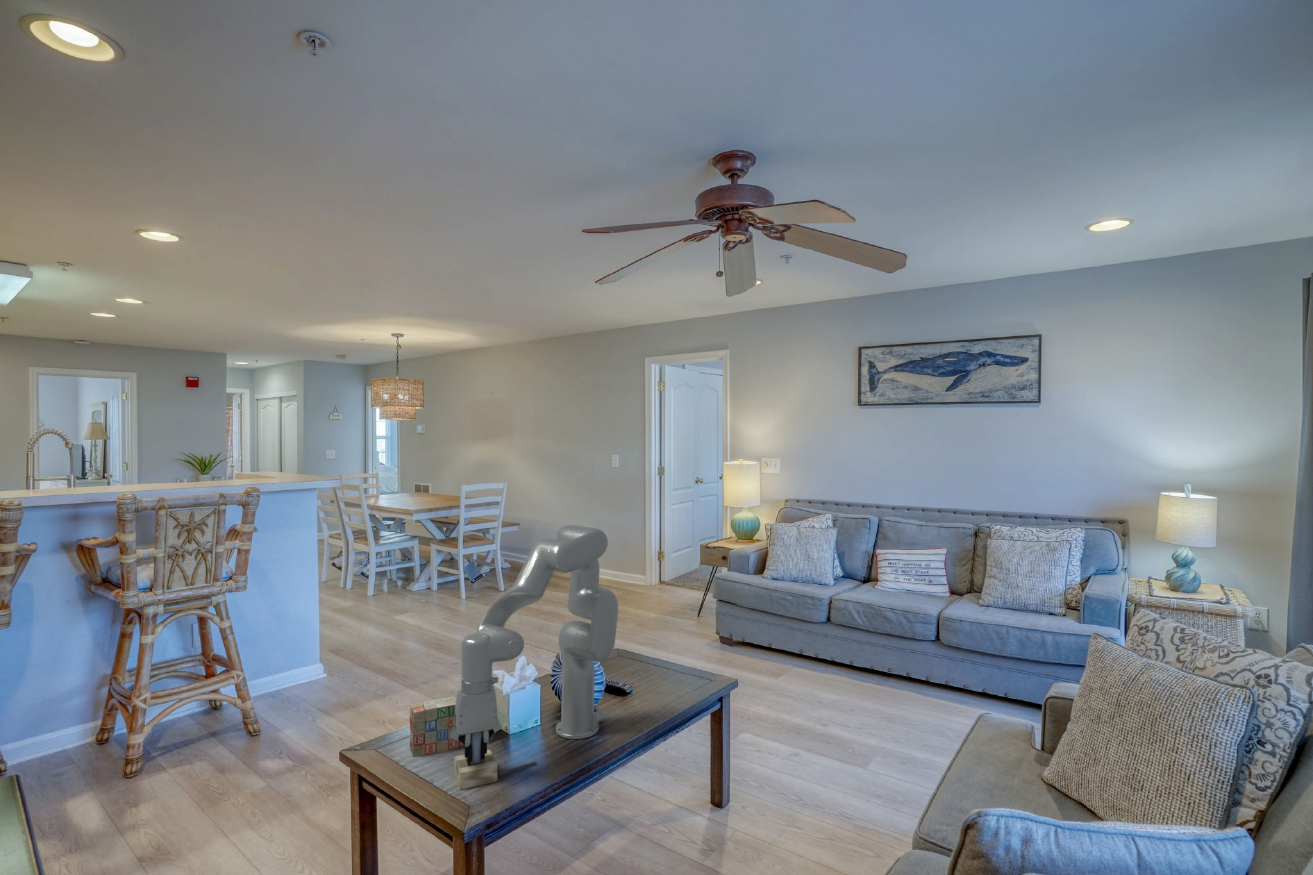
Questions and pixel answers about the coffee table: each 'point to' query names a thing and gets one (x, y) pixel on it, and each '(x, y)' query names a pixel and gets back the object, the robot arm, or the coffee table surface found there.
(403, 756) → the coffee table surface
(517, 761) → the coffee table surface
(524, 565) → the robot arm
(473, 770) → the beige hollow block
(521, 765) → the dark brown rod
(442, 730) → the stack of blocks
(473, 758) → the grey peg
